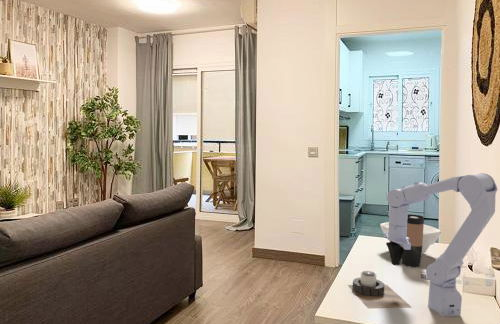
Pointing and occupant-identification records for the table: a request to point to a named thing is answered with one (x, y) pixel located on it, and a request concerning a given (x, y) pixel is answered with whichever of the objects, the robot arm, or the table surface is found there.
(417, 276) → the table surface
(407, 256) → the travel mug
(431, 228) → the bowl
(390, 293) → the socket board
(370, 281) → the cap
